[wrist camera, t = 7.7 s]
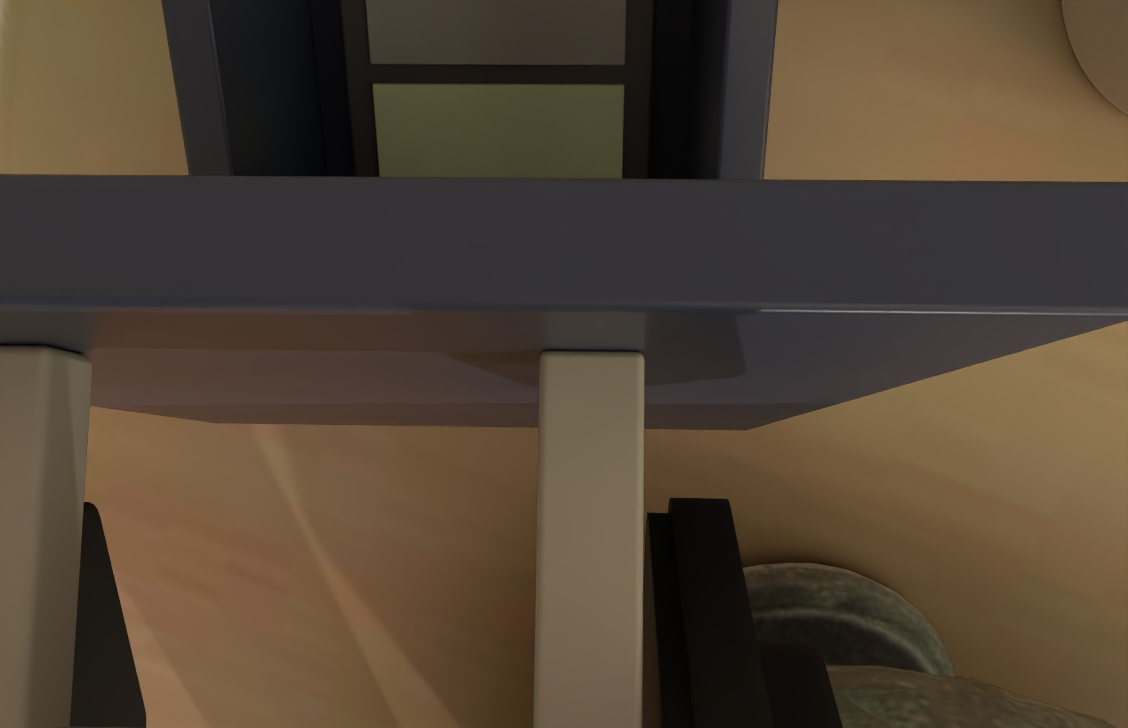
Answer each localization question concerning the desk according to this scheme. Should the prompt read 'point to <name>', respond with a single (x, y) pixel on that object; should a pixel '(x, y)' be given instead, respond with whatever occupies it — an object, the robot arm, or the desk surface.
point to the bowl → (884, 654)
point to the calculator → (499, 87)
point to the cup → (1101, 44)
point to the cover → (499, 344)
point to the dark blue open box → (319, 100)
